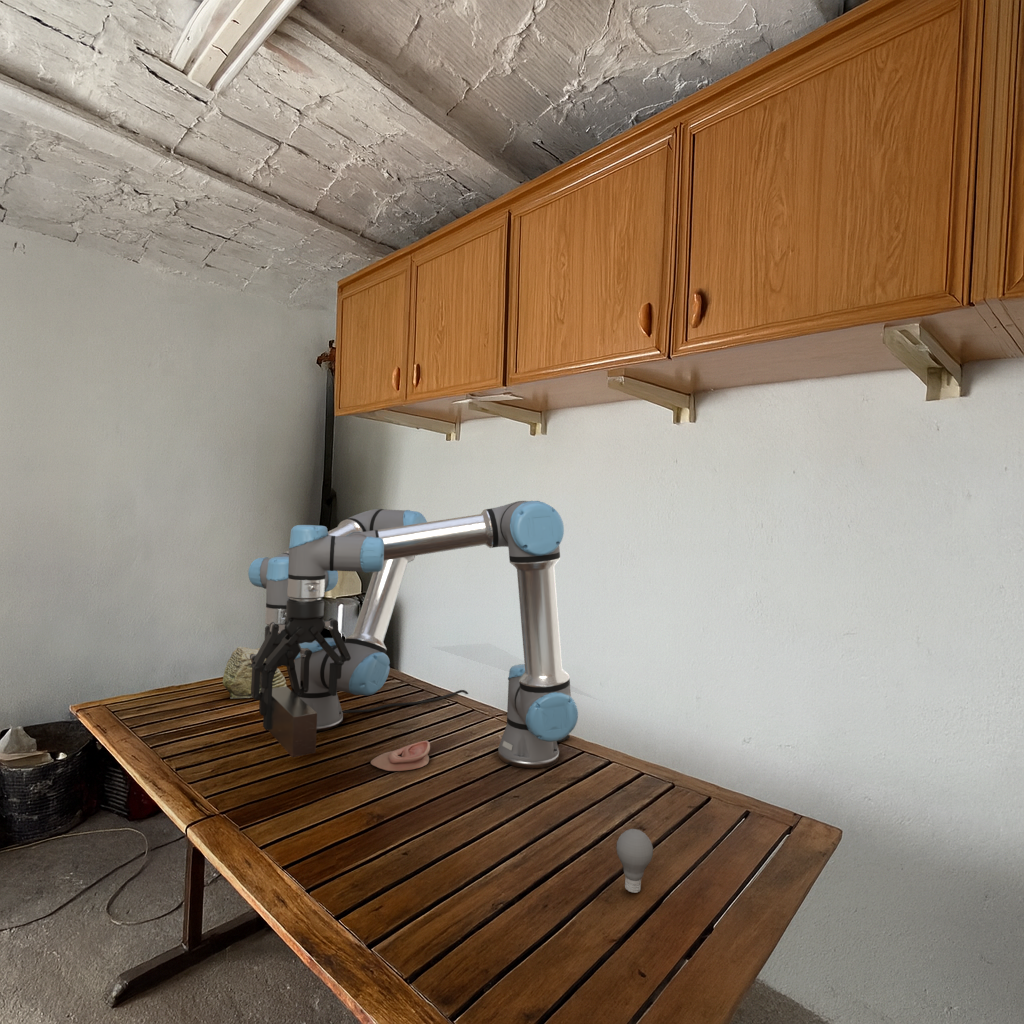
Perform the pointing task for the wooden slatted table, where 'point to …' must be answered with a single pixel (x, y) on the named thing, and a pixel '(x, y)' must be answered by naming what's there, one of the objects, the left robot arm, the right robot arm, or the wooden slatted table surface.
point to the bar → (293, 722)
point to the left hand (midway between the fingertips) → (279, 725)
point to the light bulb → (634, 857)
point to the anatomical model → (404, 757)
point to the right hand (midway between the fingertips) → (301, 698)
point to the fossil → (244, 674)
